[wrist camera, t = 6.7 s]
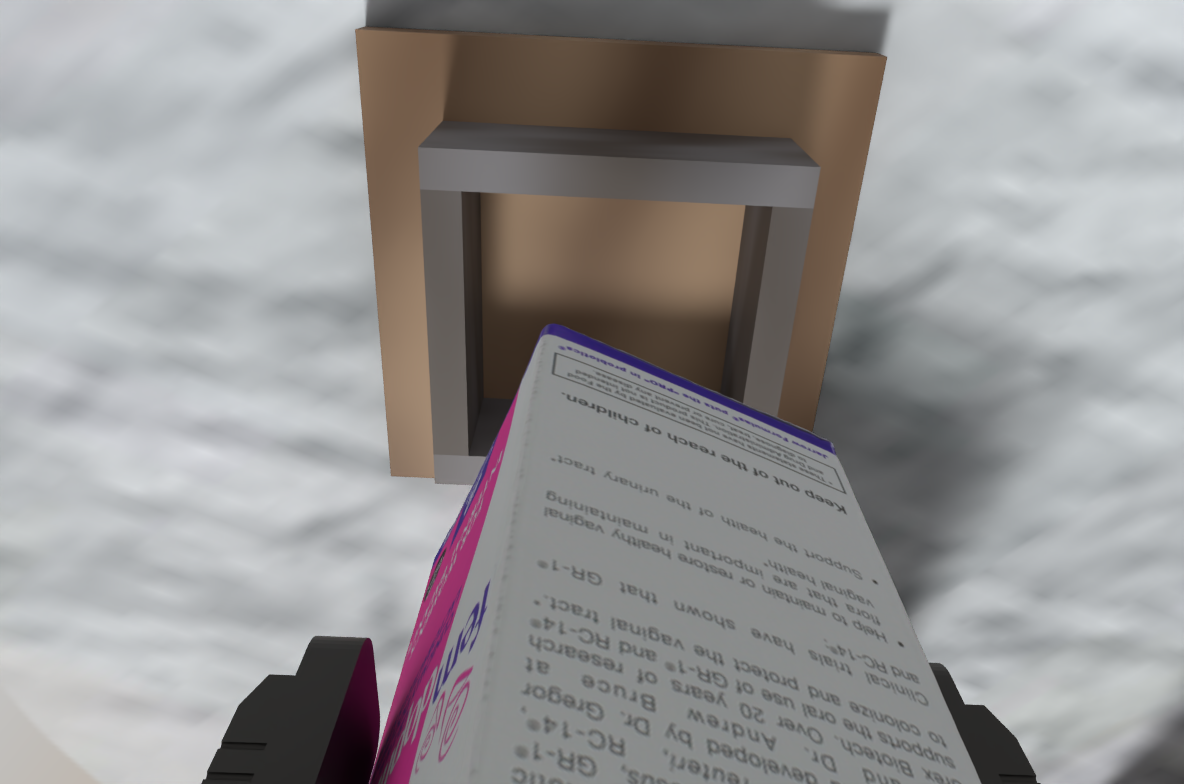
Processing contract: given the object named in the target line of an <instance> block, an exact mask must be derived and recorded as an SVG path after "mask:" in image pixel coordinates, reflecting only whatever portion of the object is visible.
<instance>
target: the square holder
mask: <svg viewBox="0 0 1184 784" xmlns="http://www.w3.org/2000/svg"><path fill="white" fill-rule="evenodd" d="M355 32H356V44H357V57H358V69H359V82H360V94H361V107H362V119H363V132H364V144H365V157H366V169H367V182H368V194H369V207H370V219H371V231H372V244H373V256H374V269H375V281H376V294H377V306H378V319H379V331H380V344H381V356H382V369H383V381H384V394H385V406H386V419H387V431H388V444H389V456H390V469H391V476H400V477H422V478H435V484H457V485H473V484H474V482H475V480H476V478H477V476H478V473H479V471H480V469H481V467H482V465H483V463H484V461H485V459H486V457H487V455H488V453H489V451H490V449H491V446H492V444H493V442H494V440H495V438H496V436H497V434H498V432H499V430H500V428H501V426H502V424H503V422H504V420H505V417H506V415H507V413H508V411H509V409H510V407H511V404H512V402H513V400H514V397H515V395H516V393H517V391H518V388H519V386H520V383H521V381H522V378H523V376H524V373H525V371H526V368H527V366H528V363H529V361H530V358H531V356H532V353H533V351H534V348H535V346H536V343H537V341H538V338H539V336H540V334H541V331H542V330H543V328H544V327H545V326H546V325H548V324H558V325H563V326H565V327H567V328H569V329H572V330H574V331H577V332H579V333H581V334H584V335H586V336H588V337H591V338H593V339H596V340H598V341H601V342H603V343H605V344H607V345H609V346H612V347H614V348H616V349H619V350H622V351H625V352H627V353H629V354H631V355H634V356H636V357H638V358H640V359H643V360H645V361H647V362H649V363H651V364H653V365H656V366H658V367H660V368H662V369H664V370H666V371H669V372H671V373H673V374H675V375H678V376H681V377H683V378H686V379H688V380H690V381H692V382H694V383H696V384H698V385H701V386H703V387H705V388H708V389H710V390H713V391H716V392H718V393H720V394H722V395H724V396H727V397H729V398H732V399H734V400H737V401H739V402H741V403H743V404H746V405H748V406H750V407H752V408H755V409H757V410H760V411H762V412H765V413H768V414H770V415H773V416H775V417H778V418H780V419H782V420H784V421H787V422H790V423H792V424H794V425H796V426H799V427H801V428H804V429H806V430H808V431H810V432H812V431H813V426H814V421H815V416H816V411H817V406H818V401H819V396H820V391H821V386H822V381H823V376H824V371H825V366H826V361H827V356H828V351H829V346H830V341H831V336H832V331H833V326H834V321H835V316H836V311H837V306H838V301H839V296H840V291H841V286H842V281H843V276H844V271H845V266H846V261H847V256H848V251H849V246H850V241H851V236H852V231H853V226H854V221H855V216H856V211H857V206H858V200H859V195H860V190H861V185H862V180H863V175H864V170H865V165H866V160H867V155H868V150H869V145H870V140H871V135H872V130H873V125H874V120H875V115H876V110H877V105H878V100H879V95H880V90H881V85H882V80H883V75H884V70H885V65H886V60H887V57H886V56H883V55H881V54H878V53H869V52H850V51H831V50H811V49H792V48H773V47H753V46H734V45H714V44H695V43H676V42H656V41H637V40H618V39H598V38H579V37H559V36H540V35H521V34H501V33H482V32H463V31H443V30H424V29H404V28H385V27H366V26H365V27H362V28H358V29H355Z"/></svg>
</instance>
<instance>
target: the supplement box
mask: <svg viewBox="0 0 1184 784" xmlns="http://www.w3.org/2000/svg"><path fill="white" fill-rule="evenodd" d="M369 784H981V782H980V779H979V777H978V775H977V772H976V770H975V767H974V765H973V763H972V761H971V758H970V756H969V754H968V752H967V750H966V747H965V745H964V743H963V741H962V739H961V737H960V734H959V732H958V730H957V727H956V725H955V723H954V720H953V718H952V715H951V713H950V711H949V709H948V707H947V705H946V702H945V700H944V698H943V695H942V693H941V690H940V688H939V686H938V683H937V681H936V678H935V676H934V674H933V672H932V669H931V667H930V665H929V663H928V661H927V658H926V656H925V654H924V652H923V649H922V647H921V645H920V643H919V640H918V638H917V636H916V634H915V631H914V629H913V627H912V624H911V622H910V620H909V617H908V615H907V613H906V610H905V608H904V606H903V604H902V601H901V599H900V597H899V594H898V592H897V590H896V587H895V585H894V583H893V581H892V578H891V576H890V574H889V572H888V569H887V567H886V565H885V562H884V560H883V558H882V556H881V554H880V551H879V549H878V547H877V545H876V543H875V541H874V538H873V536H872V533H871V531H870V529H869V527H868V525H867V523H866V520H865V518H864V516H863V513H862V511H861V509H860V507H859V505H858V502H857V500H856V498H855V495H854V493H853V491H852V488H851V486H850V483H849V481H848V479H847V476H846V474H845V472H844V469H843V467H842V465H841V463H840V461H839V459H838V458H837V456H836V452H835V448H834V445H833V443H832V442H830V441H829V440H827V439H825V438H822V437H819V436H817V435H816V434H814V433H812V432H810V431H808V430H806V429H804V428H801V427H799V426H796V425H794V424H792V423H790V422H787V421H784V420H782V419H780V418H778V417H775V416H773V415H770V414H768V413H765V412H762V411H760V410H757V409H755V408H752V407H750V406H748V405H746V404H743V403H741V402H739V401H737V400H734V399H732V398H729V397H727V396H724V395H722V394H720V393H718V392H716V391H713V390H710V389H708V388H705V387H703V386H701V385H698V384H696V383H694V382H692V381H690V380H688V379H686V378H683V377H681V376H678V375H675V374H673V373H671V372H669V371H666V370H664V369H662V368H660V367H658V366H656V365H653V364H651V363H649V362H647V361H645V360H643V359H640V358H638V357H636V356H634V355H631V354H629V353H627V352H625V351H622V350H619V349H616V348H614V347H612V346H609V345H607V344H605V343H603V342H601V341H598V340H596V339H593V338H591V337H588V336H586V335H584V334H581V333H579V332H577V331H574V330H572V329H569V328H567V327H565V326H563V325H558V324H548V325H546V326H545V327H544V328H543V330H542V331H541V334H540V336H539V338H538V341H537V343H536V346H535V348H534V351H533V353H532V356H531V358H530V361H529V363H528V366H527V368H526V371H525V373H524V376H523V378H522V381H521V383H520V386H519V388H518V391H517V393H516V395H515V397H514V400H513V402H512V404H511V407H510V409H509V411H508V413H507V415H506V417H505V420H504V422H503V424H502V426H501V428H500V430H499V432H498V434H497V436H496V438H495V440H494V442H493V444H492V446H491V449H490V451H489V453H488V455H487V457H486V459H485V461H484V463H483V465H482V467H481V469H480V471H479V473H478V476H477V478H476V480H475V482H474V484H473V486H472V488H471V490H470V492H469V494H468V496H467V498H466V500H465V502H464V504H463V506H462V508H461V511H460V513H459V515H458V517H457V519H456V521H455V523H454V524H453V526H452V527H451V529H450V531H449V532H448V534H447V536H446V538H445V540H444V542H443V544H442V546H441V548H440V549H439V551H438V553H437V555H436V557H435V559H434V563H433V566H432V569H431V573H430V576H429V580H428V583H427V587H426V590H425V594H424V597H423V601H422V604H421V607H420V611H419V614H418V618H417V621H416V624H415V628H414V631H413V634H412V638H411V641H410V644H409V648H408V651H407V654H406V657H405V661H404V664H403V668H402V672H401V675H400V679H399V682H398V685H397V689H396V692H395V695H394V699H393V702H392V706H391V709H390V712H389V716H388V719H387V723H386V726H385V730H384V733H383V737H382V740H381V744H380V747H379V751H378V754H377V757H376V761H375V764H374V768H373V771H372V775H371V778H370V782H369Z"/></svg>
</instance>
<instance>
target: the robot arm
mask: <svg viewBox="0 0 1184 784" xmlns="http://www.w3.org/2000/svg"><path fill="white" fill-rule="evenodd" d="M929 665H930V667H931V669H932V672H933V674H934V676H935V678H936V681H937V683H938V686H939V688H940V690H941V693H942V695H943V698H944V700H945V702H946V705H947V707H948V709H949V711H950V713H951V715H952V718H953V720H954V723H955V725H956V727H957V730H958V732H959V734H960V737H961V739H962V741H963V743H964V745H965V747H966V750H967V752H968V754H969V756H970V758H971V761H972V763H973V765H974V767H975V770H976V772H977V775H978V777H979V779H980V782H981V784H1040V783H1037V781H1036V774H1035V773H1034V771H1033V769H1032V767H1031V765H1030V763H1029V761H1028V759H1027V757H1026V756H1025V754H1024V752H1023V750H1022V748H1021V746H1020V744H1019V742H1018V740H1017V739H1016V737H1015V736H1014V735H1013V734H1012V733H1011V732H1010V731H1009V730H1008V729H1007V728H1006V727H1005V726H1004V725H1003V724H1002V723H1001V722H1000V721H999V720H998V719H997V718H996V717H995V716H994V715H993V714H992V713H991V712H990V711H989V710H988V709H987V708H986V707H985V706H984V705H965V704H964V702H963V700H962V698H961V696H960V694H959V692H958V690H957V688H956V685H955V683H954V681H953V679H952V677H951V675H950V673H949V672H948V670H947V669H946V667H944V666H943V665H942V664H940V663H929ZM379 731H380V710H379V701H378V691H377V682H376V672H375V662H374V653H373V645H372V641H371V639H370V638H356V637H331V636H315V637H313V638H312V640H311V641H310V643H309V645H308V647H307V649H306V652H305V654H304V656H303V659H302V661H301V664H300V666H299V668H298V671H297V673H296V676H294V675H268V676H267V677H266V678H265V679H264V680H263V681H262V682H261V683H260V684H259V685H258V686H257V687H256V688H255V689H254V690H253V691H252V692H251V693H250V694H249V695H248V696H247V697H246V698H245V699H244V700H243V701H242V702H241V703H240V705H239V706H238V708H237V710H236V712H235V714H234V716H233V718H232V721H231V723H230V725H229V727H228V729H227V731H226V733H225V735H224V737H223V739H222V744H221V748H220V749H218V750H217V752H216V754H215V756H214V758H213V760H212V762H211V765H210V767H209V769H208V771H207V777H206V779H205V780H204V779H203V781H202V783H201V784H369V781H370V777H371V773H372V770H373V766H374V762H375V758H376V753H377V748H378V741H379Z"/></svg>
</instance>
